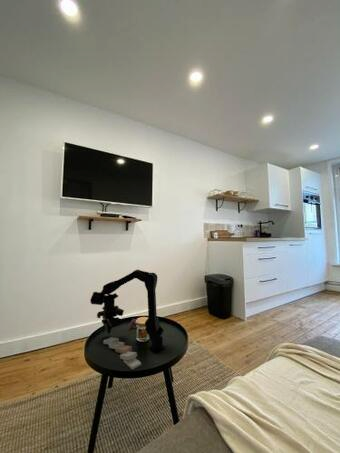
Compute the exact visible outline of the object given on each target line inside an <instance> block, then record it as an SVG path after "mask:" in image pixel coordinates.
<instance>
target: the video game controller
mask: <svg viewBox="0 0 340 453" xmlns="http://www.w3.org/2000/svg"><path fill="white" fill-rule="evenodd" d="M137 319H138V318H133V319H132V320H131V321H130V323H129V325H128V331H130V330H131V329H132V328H133V329H137V328H136V325H137V324H135V321H136V320H137Z"/></svg>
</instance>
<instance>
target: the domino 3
mask: <svg viewBox="0 0 340 453" xmlns="http://www.w3.org/2000/svg"><path fill="white" fill-rule="evenodd" d="M132 350H133V347H132V345H126V344H125V346H123V347H121V348H119V349H114V351H115V353H120V354H125V353H127V352H129V351H130V352H132Z"/></svg>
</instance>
